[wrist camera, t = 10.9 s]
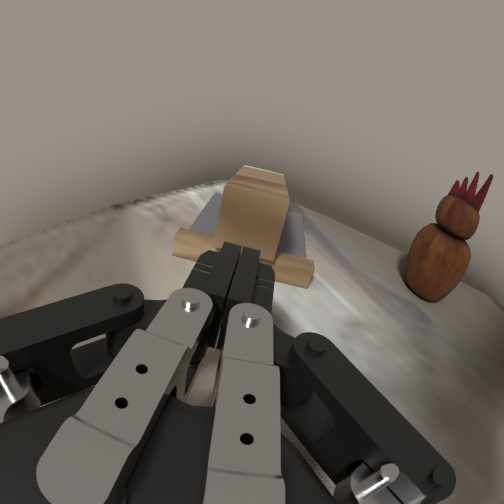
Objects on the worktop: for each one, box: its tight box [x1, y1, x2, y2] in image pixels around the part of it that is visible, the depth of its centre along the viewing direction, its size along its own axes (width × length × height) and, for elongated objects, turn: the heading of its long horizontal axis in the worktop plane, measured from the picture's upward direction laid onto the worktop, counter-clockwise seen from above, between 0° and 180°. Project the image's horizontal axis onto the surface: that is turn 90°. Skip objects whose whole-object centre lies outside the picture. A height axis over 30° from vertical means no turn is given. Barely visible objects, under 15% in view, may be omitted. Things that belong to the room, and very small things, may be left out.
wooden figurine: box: [405, 172, 493, 302], centre depth 28 cm, size 7×6×15 cm
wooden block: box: [212, 165, 290, 261], centre depth 32 cm, size 5×5×16 cm
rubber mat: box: [189, 193, 306, 259], centre depth 35 cm, size 15×12×1 cm
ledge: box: [173, 228, 314, 288], centre depth 27 cm, size 2×12×2 cm, turn 83°
